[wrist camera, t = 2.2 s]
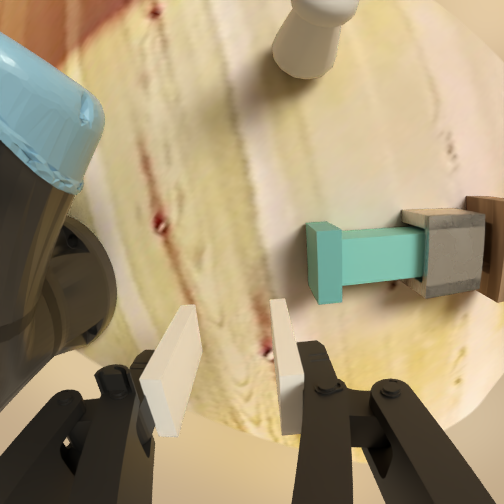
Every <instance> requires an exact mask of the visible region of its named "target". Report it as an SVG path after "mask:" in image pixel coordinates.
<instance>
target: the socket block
mask: <svg viewBox="0 0 504 504" xmlns="http://www.w3.org/2000/svg"><path fill="white" fill-rule="evenodd" d="M466 210H467V211H472V212H477V213H482V214H485V237H484V252H483V264H482V273H481V282H480V289H476V291H478V292H480V293H482V294H483V295H485V296H487V297H489V298H490V299H492V300H494V301H495V302H497V303H499V302H503V301H504V198H497V197H489V196H466Z"/></svg>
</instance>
